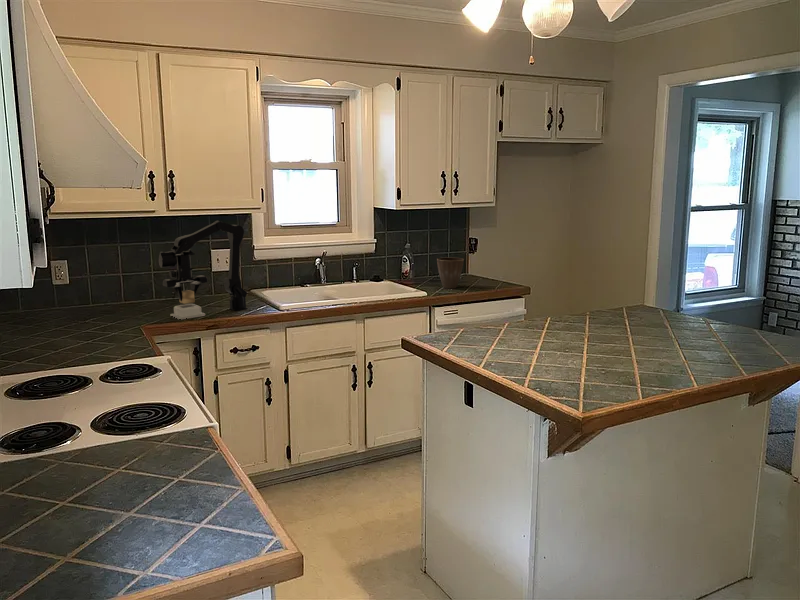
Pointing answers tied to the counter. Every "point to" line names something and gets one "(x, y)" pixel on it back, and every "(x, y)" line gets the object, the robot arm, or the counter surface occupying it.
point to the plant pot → (450, 271)
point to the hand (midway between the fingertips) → (186, 300)
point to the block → (187, 297)
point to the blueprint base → (187, 311)
